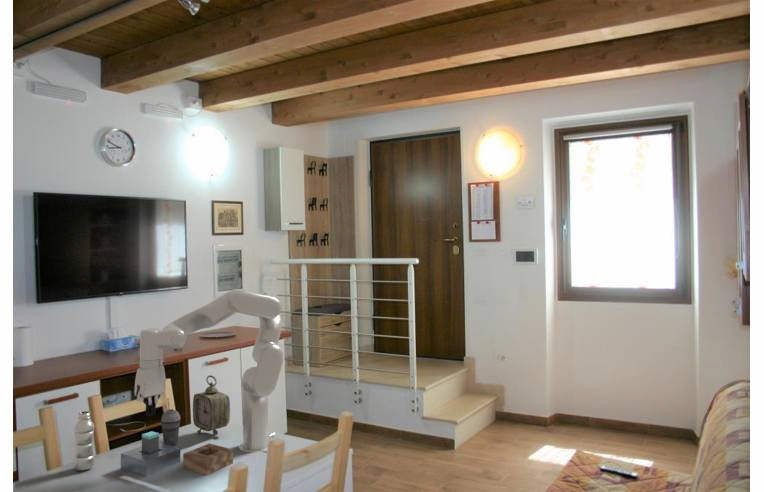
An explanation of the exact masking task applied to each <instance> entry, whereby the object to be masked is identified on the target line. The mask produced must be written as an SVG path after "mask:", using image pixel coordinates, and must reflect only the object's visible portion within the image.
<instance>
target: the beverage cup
mask: <svg viewBox="0 0 764 492" xmlns="http://www.w3.org/2000/svg"><path fill="white" fill-rule="evenodd" d="M166 399H167V410H166V411H164V413H163V414H162V416H161V418H160V419H161V420H160V424H161V429H162V430H161V431H162V441H163V442H162V443H163V444H166V445H170V446H173V447H177V448H178V443H179V434H180V433H179V430H180V425H181V420H182V419H181V415H180V413H179V411H177V410H175V409H171V408H170V407H171V406H170V398H169V397H168V398H166Z"/></svg>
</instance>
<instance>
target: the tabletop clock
mask: <svg viewBox="0 0 764 492" xmlns="http://www.w3.org/2000/svg"><path fill="white" fill-rule="evenodd" d="M209 378H212V379H213V380H214V381H215V382H214V383H215V384H214V383H213V382H212V381H211V382H209V380H208V379H209ZM205 380H206V383H207V385H209V386H208V387H206V389H205V390H204V391H203V392H199V393H195V394H194V395H193V401H192V420H193V425H194V426H195V427H196V428H198V430H197V431H196V434H198V435H200V434H201V433H202V431H205V432H212V436H211V440H214V441H215V440H216V438H217V437H216V435H217V434H218V433H219V431H218V429H219V430H220V429H223V428H225V427H227V426H228V425H229V423H230V420H231V400H230V396H228V395H227V394H226V393H223V392H220V391H218V388H217V387H216V385H217V378H216V377H215V376H213V375H211V374H210V375H207V377H206V378H205Z"/></svg>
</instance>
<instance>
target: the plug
mask: <svg viewBox="0 0 764 492" xmlns="http://www.w3.org/2000/svg"><path fill="white" fill-rule="evenodd" d="M159 441H160V433H159V432H155V431H151V430H150V431H149V432H146V433H142V434H141V446H142V453H145V454H148V455H151V454H153V453H156V452H159V443H160V442H159Z"/></svg>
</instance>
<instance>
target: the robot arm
mask: <svg viewBox="0 0 764 492" xmlns="http://www.w3.org/2000/svg"><path fill="white" fill-rule="evenodd" d="M282 310H283V309H282V303H281V301H280V300H279V299H278V298H276V297H275V296H271V295H268V294H260V293H255V292H252V291H247V290H245V289H244V290H243V289H239V288H235V289H231V290H229V291H227V292H226V293H224V294H223V295H221V296H218V297H217V298H216V299H213V300H211V302H209V303H207V304H205V305H203V306H201V307H199V308H197V309H195V310H192V311H190V312H188V313H186V314H185V315H182V316H181V317H179V318H177V319H175V320H173V321H171V322H170V323H169V324H167V325H165V326H164V327H163V328H162V329H161V328H155V327H152V328H144V329H141V331H140V332H139V333H140V334H139V368H137V370H136V372H135V373H136V374H135V379H134V380H135V381H134V396H135V397H136V401H137V402H139V403H140V402H141V403H143V404H144V405H145V415H146V416H148V417H153V416H156V414H157V413H156V411H157V408H156V407H157V404H158V402H159V399H160V398H161V397H164V396H165V393H166V386H167V384H166V383H167V382H166V372H165V366H164V365H163V362H165V358H164V356H163V355H164V354H163V352H164V351H163V349H168V350H169V349H170V350H178V349H180V348H182V347H183V346H185V344H187V336H190V335H191V334H193V333H195V332H197V331H200V330H202V329H209V328H213V327H216V326H217V325H219V324H220V323H222V322H223V321H226V320H227V319H228V318H230V317H232V316H234V315H235V314H236V313H239V314H243V315H247V316H253V317H255V318H256V317H257V318H258V319H259V329H258V333H257V336H256V338H255V343H254V346H253V348H252V355H251V356H252V359H253V361H254V362H255V363H256V366H251V367H249V368H247V369H246V370H245V371H244V372H243V375H242V377H241V389H242V402H243V404H242V405H243V406H242V443H241V444H239V446H238V449H239V450H240V451H242V452H246V453H259V452H262V453H267V452H268V451H267V444H268V441H269V442H270V440H271V439H274V438H276V435H277V434H276V433H275V432H271V433H269V396H270V395H272V393H274V391H275V389H276V386H277V383H278V380H279V377H280V374H281V370H282V366H283V362H284V352H283V349H282V348H281V347H280V346H279V345H278V344H279V342H280V341H279V340H280V338H281V332H282V328H283V322H282V321H283V320H282V316H281V312H282Z"/></svg>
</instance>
